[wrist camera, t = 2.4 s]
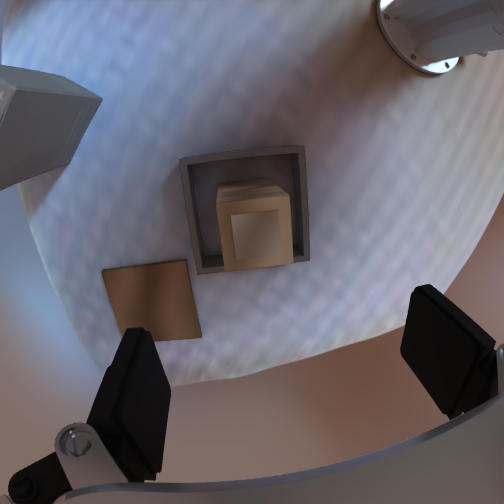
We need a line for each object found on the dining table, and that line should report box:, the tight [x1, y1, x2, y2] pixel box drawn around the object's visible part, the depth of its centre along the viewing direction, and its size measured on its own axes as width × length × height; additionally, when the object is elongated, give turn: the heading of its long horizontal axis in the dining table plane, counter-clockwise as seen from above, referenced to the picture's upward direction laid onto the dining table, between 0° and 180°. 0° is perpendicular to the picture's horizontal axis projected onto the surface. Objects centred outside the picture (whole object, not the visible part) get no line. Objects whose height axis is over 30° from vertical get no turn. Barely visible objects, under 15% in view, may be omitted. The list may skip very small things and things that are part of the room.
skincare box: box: [0, 65, 102, 191], centre depth 18 cm, size 8×7×16 cm
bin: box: [179, 146, 310, 275], centre depth 29 cm, size 11×11×3 cm
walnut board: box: [101, 259, 202, 341], centre depth 33 cm, size 10×10×1 cm
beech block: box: [216, 178, 293, 272], centre depth 25 cm, size 5×5×10 cm
